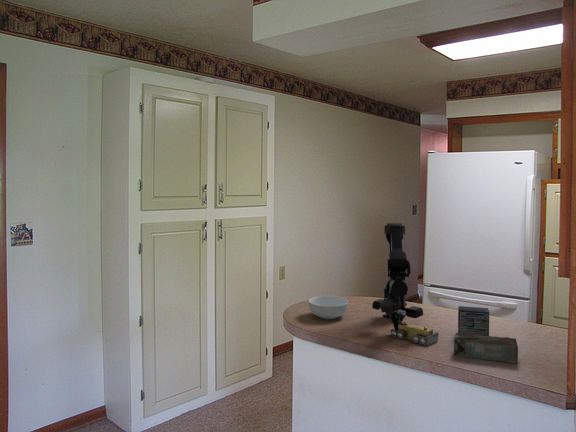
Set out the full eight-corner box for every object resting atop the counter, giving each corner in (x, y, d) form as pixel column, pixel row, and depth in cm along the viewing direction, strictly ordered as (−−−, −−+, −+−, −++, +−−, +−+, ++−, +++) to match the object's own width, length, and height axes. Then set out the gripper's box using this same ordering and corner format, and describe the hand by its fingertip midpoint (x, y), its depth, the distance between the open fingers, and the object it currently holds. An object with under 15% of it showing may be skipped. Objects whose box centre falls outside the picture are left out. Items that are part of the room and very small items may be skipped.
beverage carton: (454, 348, 160) (455, 329, 160) (516, 356, 153) (517, 336, 153) (453, 356, 153) (453, 337, 153) (518, 365, 146) (519, 344, 145)
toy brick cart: (402, 331, 179) (402, 323, 178) (439, 340, 168) (439, 332, 168) (389, 336, 172) (389, 328, 172) (427, 346, 162) (427, 338, 162)
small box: (487, 335, 174) (488, 307, 173) (489, 340, 167) (490, 312, 167) (457, 332, 177) (458, 305, 176) (458, 337, 171) (458, 309, 170)
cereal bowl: (300, 316, 199) (300, 300, 199) (327, 309, 211) (327, 293, 210) (329, 325, 187) (329, 307, 186) (356, 316, 198) (356, 300, 197)
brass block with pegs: (403, 334, 175) (403, 320, 175) (433, 341, 167) (433, 327, 167) (398, 336, 173) (398, 322, 173) (428, 344, 165) (428, 329, 164)
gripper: (364, 289, 175) (363, 329, 176) (408, 298, 162) (407, 342, 163) (380, 284, 183) (380, 323, 184) (424, 292, 170) (423, 334, 171)
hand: (396, 330), depth 175 cm, fingers closed
